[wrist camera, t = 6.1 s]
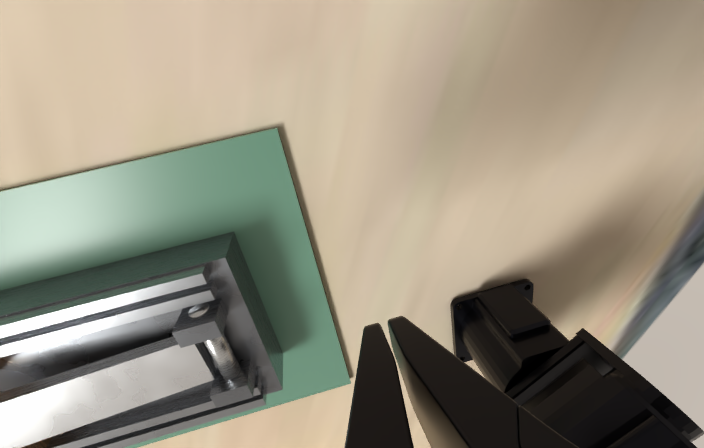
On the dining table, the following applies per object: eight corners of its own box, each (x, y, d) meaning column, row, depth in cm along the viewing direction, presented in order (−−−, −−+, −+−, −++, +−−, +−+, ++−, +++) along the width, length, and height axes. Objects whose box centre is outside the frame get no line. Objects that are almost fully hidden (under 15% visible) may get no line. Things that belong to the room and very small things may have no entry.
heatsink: (283, 353, 23) (282, 423, 18) (49, 420, 22) (-15, 514, 17) (233, 231, 19) (216, 283, 14) (-63, 306, 17) (-190, 390, 13)
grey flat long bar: (216, 368, 18) (214, 379, 18) (-15, 448, 17) (-27, 464, 16) (194, 329, 17) (192, 339, 16) (-59, 411, 15) (-74, 427, 15)
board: (350, 379, 26) (350, 383, 26) (37, 472, 24) (33, 478, 24) (276, 127, 17) (276, 128, 17) (-227, 242, 15) (-239, 246, 15)
